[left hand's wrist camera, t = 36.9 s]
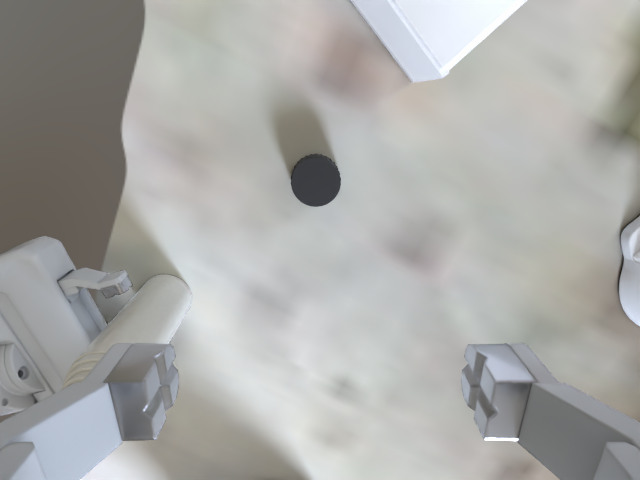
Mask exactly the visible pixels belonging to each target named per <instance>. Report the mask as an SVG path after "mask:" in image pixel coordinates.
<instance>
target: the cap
mask: <svg viewBox="0 0 640 480" xmlns="http://www.w3.org/2000/svg"><path fill="white" fill-rule="evenodd" d="M340 180H341V178H340V173H339V171H338V168H337V166H336V165H335V163H334V162H332V160H331V159H329V158H327V156H323V155H322V154H321V155H318V154H314V155H312V154H311V155H309V156H306V157H304V158H301V160H300V161H298V163H297V165H295V167H294V170H293V172H292V176H291V185H292V190H293V192H294V194H295V196H296V197H297V198H298V199H299V200H300V201H301V202H302V203H304V204H306V205H309V206H323V205H326V204H328V203H329V202H331V201H332V200H333V199H334V198H335V197H336V195H337V194H338V192H339V189H340V185H341V184H340Z"/></svg>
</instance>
